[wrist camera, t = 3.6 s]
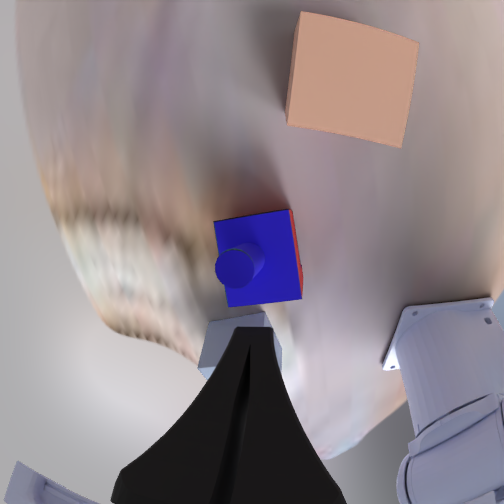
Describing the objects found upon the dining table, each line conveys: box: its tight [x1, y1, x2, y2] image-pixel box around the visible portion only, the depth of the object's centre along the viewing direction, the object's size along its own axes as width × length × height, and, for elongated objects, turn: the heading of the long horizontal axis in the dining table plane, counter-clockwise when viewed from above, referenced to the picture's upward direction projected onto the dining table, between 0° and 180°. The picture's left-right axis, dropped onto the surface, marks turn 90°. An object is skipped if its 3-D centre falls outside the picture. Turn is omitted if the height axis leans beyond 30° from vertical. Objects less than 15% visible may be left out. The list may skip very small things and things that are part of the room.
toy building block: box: [213, 209, 303, 307], centre depth 15 cm, size 4×4×8 cm
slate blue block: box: [198, 312, 282, 380], centre depth 21 cm, size 4×4×4 cm
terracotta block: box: [285, 11, 419, 149], centre depth 10 cm, size 4×4×4 cm
